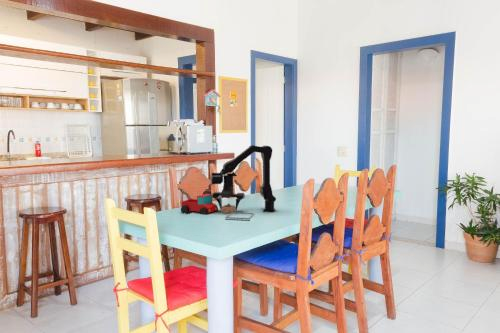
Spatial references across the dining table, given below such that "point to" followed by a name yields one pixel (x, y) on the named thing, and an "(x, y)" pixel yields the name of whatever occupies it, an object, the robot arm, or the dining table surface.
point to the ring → (228, 208)
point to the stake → (228, 206)
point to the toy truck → (199, 205)
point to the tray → (237, 217)
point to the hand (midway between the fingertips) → (228, 209)
